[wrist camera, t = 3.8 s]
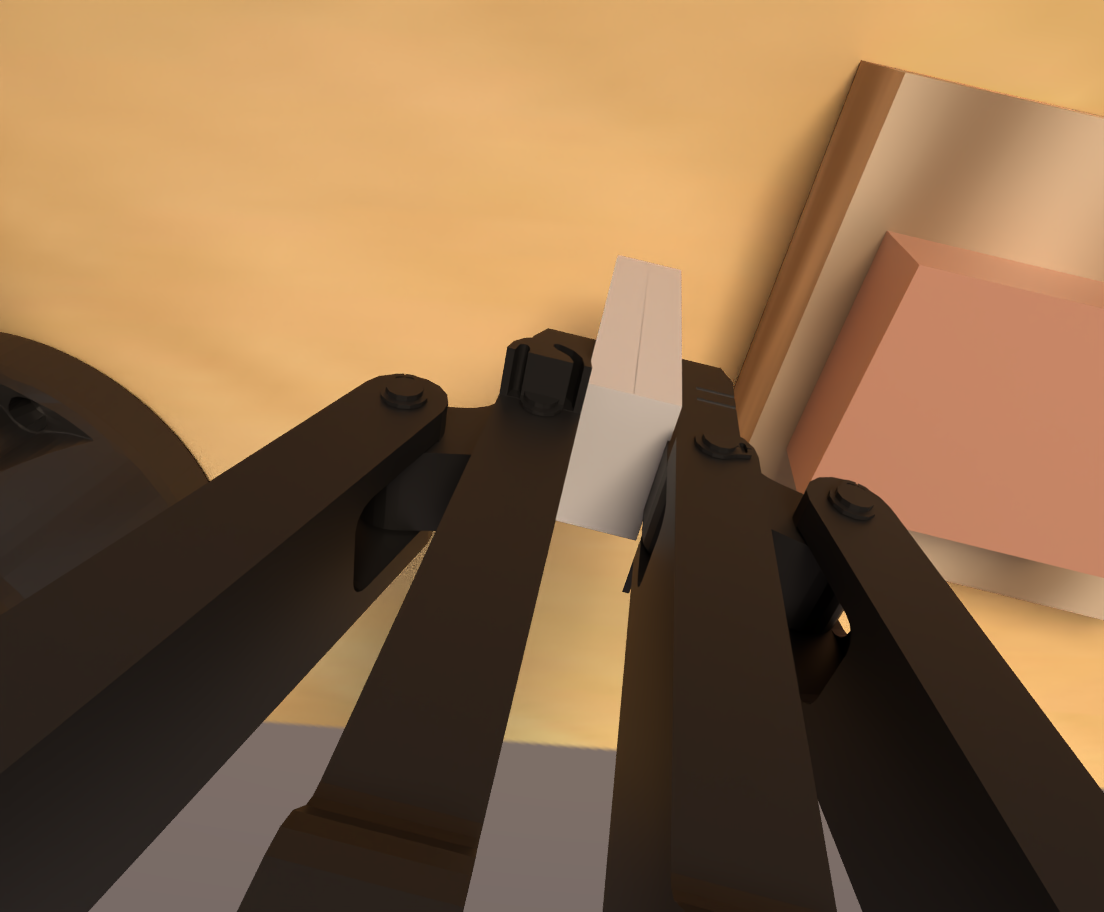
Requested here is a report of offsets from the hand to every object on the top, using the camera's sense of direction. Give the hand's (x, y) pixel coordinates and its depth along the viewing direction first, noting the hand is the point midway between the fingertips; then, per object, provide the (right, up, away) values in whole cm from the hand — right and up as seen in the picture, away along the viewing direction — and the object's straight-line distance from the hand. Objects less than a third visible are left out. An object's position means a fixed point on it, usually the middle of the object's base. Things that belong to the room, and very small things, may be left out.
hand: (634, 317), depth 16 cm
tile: (+9, -2, +1) cm, 9 cm away
